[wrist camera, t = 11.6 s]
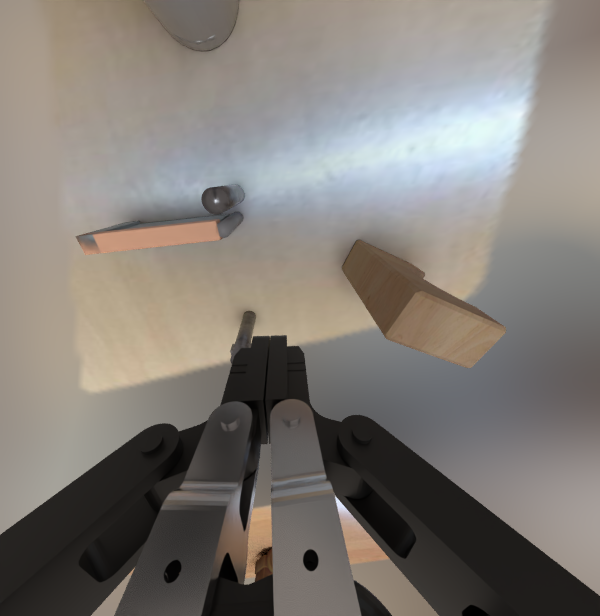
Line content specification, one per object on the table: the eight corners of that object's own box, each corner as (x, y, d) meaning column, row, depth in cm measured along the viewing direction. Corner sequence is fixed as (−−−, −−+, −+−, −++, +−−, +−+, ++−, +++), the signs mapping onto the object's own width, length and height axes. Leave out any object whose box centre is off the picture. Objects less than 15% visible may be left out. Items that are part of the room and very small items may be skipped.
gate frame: (224, 184, 33) (197, 187, 23) (245, 184, 33) (227, 187, 23) (242, 321, 44) (229, 367, 33) (257, 321, 44) (249, 366, 33)
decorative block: (412, 264, 40) (512, 330, 23) (393, 292, 43) (469, 372, 25) (357, 237, 38) (422, 288, 20) (339, 268, 40) (383, 339, 22)
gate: (241, 209, 34) (227, 219, 26) (244, 224, 35) (232, 238, 27) (126, 222, 34) (75, 236, 25) (132, 236, 35) (85, 254, 26)
